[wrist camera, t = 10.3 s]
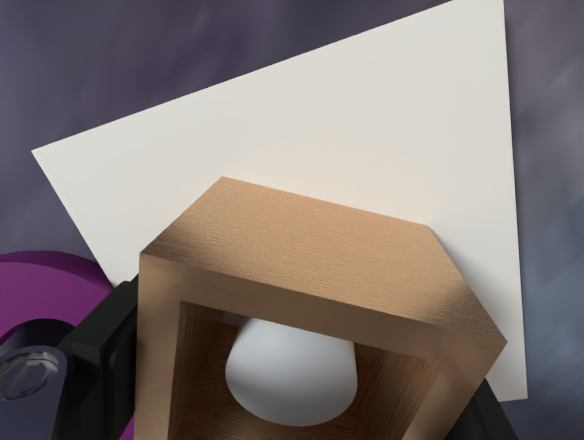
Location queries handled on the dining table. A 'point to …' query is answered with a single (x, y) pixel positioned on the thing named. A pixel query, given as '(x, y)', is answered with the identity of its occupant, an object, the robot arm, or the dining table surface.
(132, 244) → the flange
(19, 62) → the dining table surface
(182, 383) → the open wooden box
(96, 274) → the mounting bracket
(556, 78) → the dining table surface
